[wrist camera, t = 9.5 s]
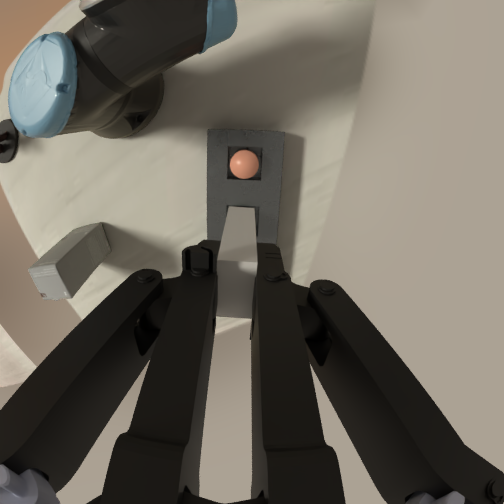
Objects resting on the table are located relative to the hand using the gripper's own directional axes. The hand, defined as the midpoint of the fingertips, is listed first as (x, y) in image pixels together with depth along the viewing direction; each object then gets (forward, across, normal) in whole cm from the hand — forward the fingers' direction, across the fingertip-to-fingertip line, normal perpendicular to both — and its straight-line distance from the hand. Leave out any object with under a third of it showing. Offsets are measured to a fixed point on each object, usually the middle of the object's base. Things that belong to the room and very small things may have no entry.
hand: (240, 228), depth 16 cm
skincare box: (+28, -30, -16) cm, 44 cm away
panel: (+28, 0, -9) cm, 29 cm away
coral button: (+27, 0, 0) cm, 27 cm away
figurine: (+29, -54, +7) cm, 62 cm away
